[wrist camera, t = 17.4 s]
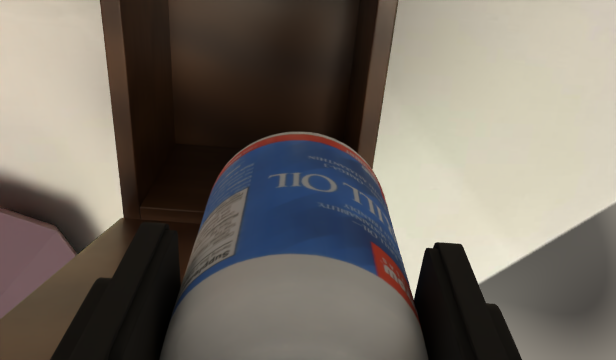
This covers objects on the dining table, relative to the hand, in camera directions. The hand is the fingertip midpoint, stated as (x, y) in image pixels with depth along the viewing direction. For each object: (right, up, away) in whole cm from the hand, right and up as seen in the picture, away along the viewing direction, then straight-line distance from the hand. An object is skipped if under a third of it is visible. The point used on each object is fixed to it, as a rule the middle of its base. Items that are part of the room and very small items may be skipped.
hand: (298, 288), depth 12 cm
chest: (-3, +11, +20) cm, 23 cm away
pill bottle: (0, +2, +5) cm, 5 cm away
